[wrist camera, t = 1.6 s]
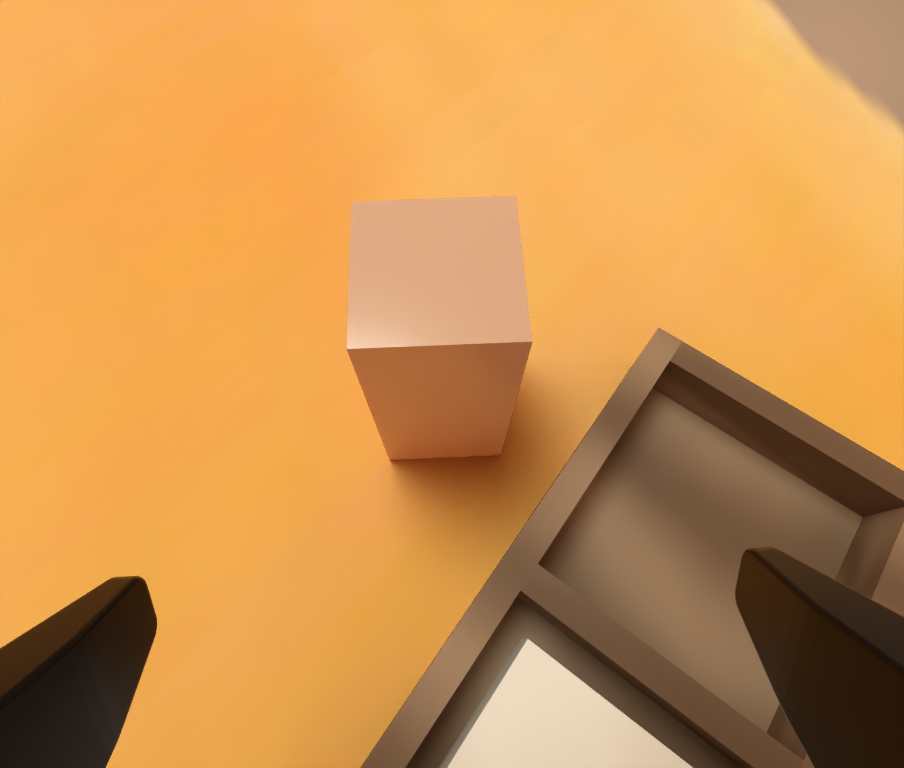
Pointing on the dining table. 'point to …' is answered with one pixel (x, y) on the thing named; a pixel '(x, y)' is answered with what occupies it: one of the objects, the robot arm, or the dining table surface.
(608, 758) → the napkin stack
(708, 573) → the rack
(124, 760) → the dining table surface
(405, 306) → the clay blank
